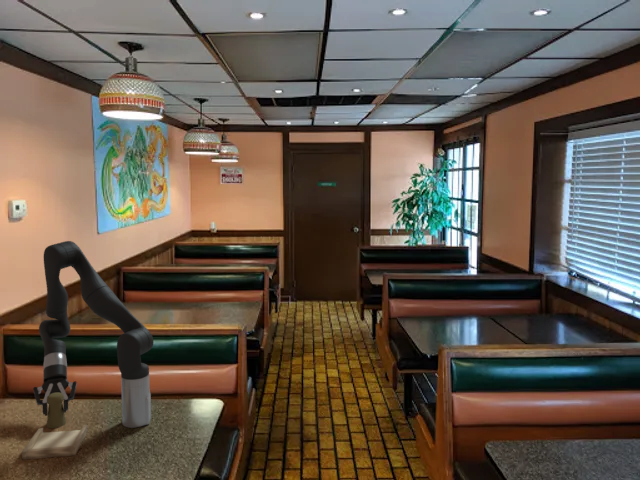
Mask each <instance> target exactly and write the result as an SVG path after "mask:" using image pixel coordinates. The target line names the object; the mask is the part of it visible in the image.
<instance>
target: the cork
mask: <svg viewBox="0 0 640 480" xmlns="http://www.w3.org/2000/svg"><path fill="white" fill-rule="evenodd" d="M63 399H64V396H63V394H62V393H59V392H56V393H52V394H50V395H48V397H47V405H48V415H47V416H46V417H47V418H46V419H47V420H46V427H47V428H48V429H57V428H61V427H63V426H65V425H66V423H67V421H66V416H65V415H66V413H64V400H63Z"/></svg>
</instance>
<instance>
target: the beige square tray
mask: <svg viewBox="0 0 640 480" xmlns="http://www.w3.org/2000/svg"><path fill="white" fill-rule="evenodd" d="M88 428H89V427H88V424H83V425H82V427H81V429H76V430H63V431H51V432H44V427H38V429H37V430H36V431H35V433H34V435H32V437H31V439H30V440H29V442H28V443H27V444H26V445H25V446H24V448H23V449H22V450H21V460H22V461H24V460H25V461H26V460H35V459H47V458H59V457H70V456H76V455H77V453H78V451H79V449H80V447H81V445H82V443H83V441H84V440H85V437H86V436H87V434H88V432H89V429H88Z"/></svg>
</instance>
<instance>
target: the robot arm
mask: <svg viewBox="0 0 640 480" xmlns="http://www.w3.org/2000/svg"><path fill="white" fill-rule="evenodd" d="M43 267H44V275H45V283H46V294H47V295H46V306H45V307H46V308H45V314H46V316H47V317H49V318H51V319H45V320H42V321H41V322H40V323H39V325H38V332H39V335H40V338H41V340H42V344H43V347H44V348H43V350H44V353H43V356H44V357H43V377H42V379H43V380H42V381H43V383H42V385H41V386H38V387H37V386H34V387H33V388H32V390H33V394H34V397H35V403H36V405H38V406H42V414H43V415H44V416H45V417H48V408H49V405H48V403H47V397H48V395H50V394H52V393H56V392H59V393H62V394H63V396H64V399H63V409H64V414H66V413H67V411H68V410H69V402H70V401H73V400H74V399H75V396H76V390H77V383H78V382H77V381H76V380H75V381H74V380H73V382H71V381H69V380H68V363H67V361H68V360H67V355H66V351H67V350H66V347H67V346H66V342H65V341H63V340H61V339H59V338H66V337H68V336H69V334H70V333H71V324H70V320H69V316H68V304H69V296H68V295H69V294H68V291H67V290H66V288H65V286H64V285H63V283H62V282H61V280H60V273H61V270H63V269H65V268H69V267H71V268H72V269H74V271H75V272H76V274H77V275H78V276H79V280H80V292H81V297H82V299H83V301H84V303H86V305H87V306H88V307H89V309H90V310H91V311H92V312H93V313H94V314H95V315H96V316H98V317H100V318H102V319H104V320H106V321H108V322H110V323H112V324H114V325H115V326H117V328H119V329H120V330H121V331H122V334H121V335H120V336H119V337H118V339H117V341H116V353H117V355H116V356H117V365H118V370H119V371H120V379H121V381H120V383H121V413H122V414H121V415H122V416H121V421H122V425H123V427H125V428H129V429H130V428H132V429H133V428H140V427H143V426H147V425H150V423H151V419H152V402H151V401H152V399H151V398H152V397H151V396H152V393H151V391H150V367H149V365H148V364H146V363H144V362H142V358H141V355H143V354H146V353H147V352H149V351H151V349H152V348H153V346H154V338H153V335H152V333H151V332H150V331H149V329H148V328H147V327H146V326H145V325H144V324H143V323H142V322H141V321H140V320H139V319H137V317H135V316H134V314H133V313H132V312H130V311H129V309H128V308H127V307H126V306H125V304H123V302H122V301H121V300H120V299H119V298H118V296H117V295H116V293H115V292H114V291H113V290H112V289H111V287H110V286H109V285H108V284H107V283H106V282H105V281H104V279H102V277H101V276H100V275H99V273H98V272H97V271H96V269H94V266H93V265H92V264H91V263H90V261H89V259H88V258H87V257H86V255H85V254H84V252H83V251H82V249H81V247H80V246H79V245H78V244H77V243H75V242H74V241H72V240H66V241H62V242H58V243H54V244H53V243H52V244H51V245H48V246H46V247H45V249H44V251H43ZM68 387H69V388H70V393H69V395H68V394H67V393H66V390H67V388H68ZM42 391H43V392H44V393H45V394H44V397H43V399H41V396H40V394H41V393H42Z"/></svg>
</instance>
